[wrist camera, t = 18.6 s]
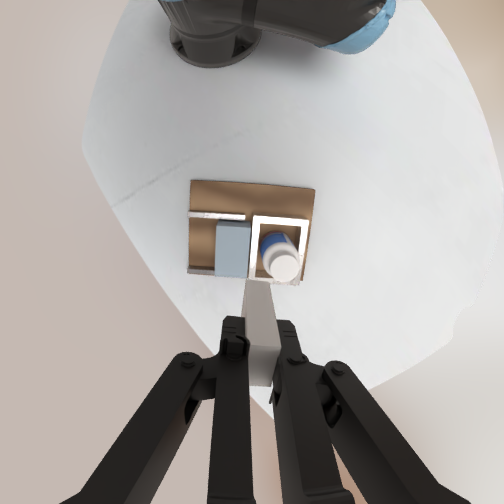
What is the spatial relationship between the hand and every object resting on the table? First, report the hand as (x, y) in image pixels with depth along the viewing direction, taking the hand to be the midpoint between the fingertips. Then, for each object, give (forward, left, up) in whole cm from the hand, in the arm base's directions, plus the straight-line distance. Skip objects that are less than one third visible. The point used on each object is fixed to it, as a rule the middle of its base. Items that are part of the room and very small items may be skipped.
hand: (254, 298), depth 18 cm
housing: (+5, -2, -27) cm, 28 cm away
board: (+3, +1, -28) cm, 29 cm away
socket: (+5, +5, -27) cm, 28 cm away
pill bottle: (+5, +5, -27) cm, 28 cm away
